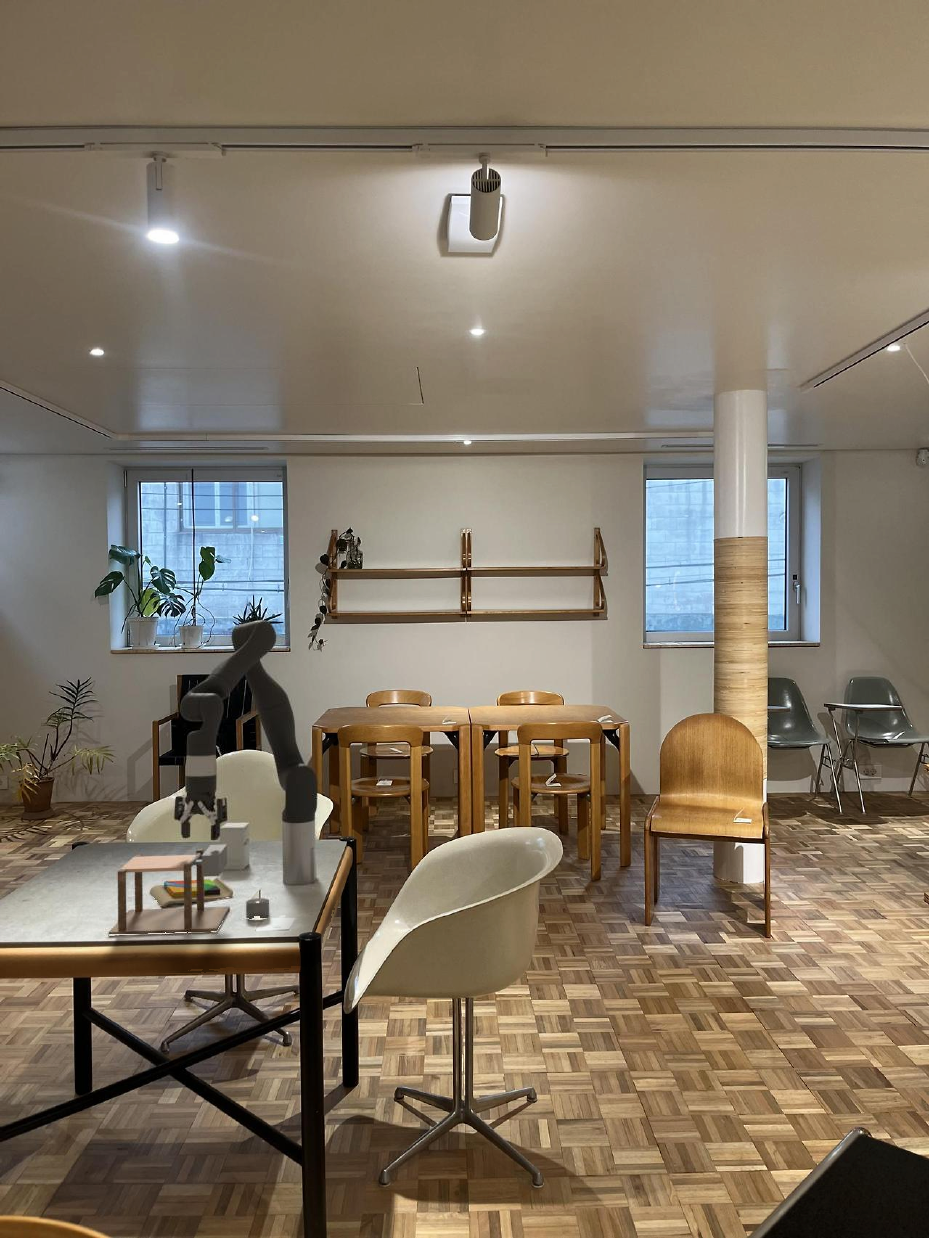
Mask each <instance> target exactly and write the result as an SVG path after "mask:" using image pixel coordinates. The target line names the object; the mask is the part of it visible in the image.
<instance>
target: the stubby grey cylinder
mask: <svg viewBox="0 0 929 1238" xmlns="http://www.w3.org/2000/svg"><path fill="white" fill-rule="evenodd" d="M254 916H260V918H268V917H269V918H270V900H269V899H268V898H265V897H259V898H252V899H248V900H246V902H245V918H249V919H252V918H254ZM269 918H268V919H269Z"/></svg>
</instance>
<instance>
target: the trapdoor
mask: <svg viewBox="0 0 929 1238" xmlns="http://www.w3.org/2000/svg"><path fill="white" fill-rule="evenodd" d="M200 856H201V853H198V854H197V855H196V854H183V855H182V854H181V855H150V856H148V855H147V856H146V855H145V856H143V855H142V857H134V856H133V857H132V858H131V859H130V860H129V861H127V862H126V863H125V864H124V865H123V866H122V867H121V868H120V869H119V870H126V874H127V873H135V872H142V873H146V872H147V873H154V872H184V864H185V863H191V868H192V867H193V866H196V865H202V877H204V878H205V877H219V876H220V875H221V873H222V872H223V871H224V870H223V869H224V868H225V867H226V865H227V844H225V845H220V844H210V845H209V846H208V848H207V849H206V850H205V851H204V854H203V855H202V860H198V859H199V857H200Z"/></svg>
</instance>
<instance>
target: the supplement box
mask: <svg viewBox="0 0 929 1238" xmlns="http://www.w3.org/2000/svg"><path fill="white" fill-rule="evenodd" d="M225 844H227V865H226V867H225V868H224V869H223V871H224V870H225V871H226V870H231V871H232V870H241V871H242V870H243V871H244V869H245V868H246V867H247V866H248V865H249V864H250V822H225V824H223V825H222V826H220V836H219V845H225Z"/></svg>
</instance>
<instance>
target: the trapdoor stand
mask: <svg viewBox="0 0 929 1238" xmlns="http://www.w3.org/2000/svg"><path fill="white" fill-rule="evenodd" d="M204 852H205V851H204V848H197V849H196V854H195V855H197V854H198V853H201V856H200V857H199V859H198V860H202V855H203V854H204ZM133 857H143V854H135V856H133ZM195 867H196V880H197V902H196V907H193V902H192V880H193V879H192V877H193V876H192V867H191V863H185V864H184V871H183V881H184V903H183V907H177V908H176V907H175V908H174V907H173V908H146V909H145V908H143V907H144V905H143V903H144V902H143V901H144V900H143V899H144V895H143V894H144V893H143V891H144V889H143V872H134V909H129V910H128V911H127V873H126V870H120V869H119V870H117V922H116V924H115V925H113V927H112V928H111V929H110V930H109V931H108V935H109V934H148V933H165V932H166V933H175V932H187V933H188V932H211V931H217V930H218V928H219V926H220V925H221V924H223V923H222V921H223V920H224V921H225V919H226V918H225V916H226V915H228V914H229V913H228V912H230V911H231V907H230V906H229V905H227V906H206V907H205V901H204V879H205V877H202V865H195ZM229 910H230V911H229ZM227 913H228V914H227ZM226 917H227V916H226ZM224 918H225V919H224ZM224 921H223V922H224ZM221 926H222V925H221ZM221 926H220V927H221ZM219 929H220V928H219ZM218 931H219V930H218Z"/></svg>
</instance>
